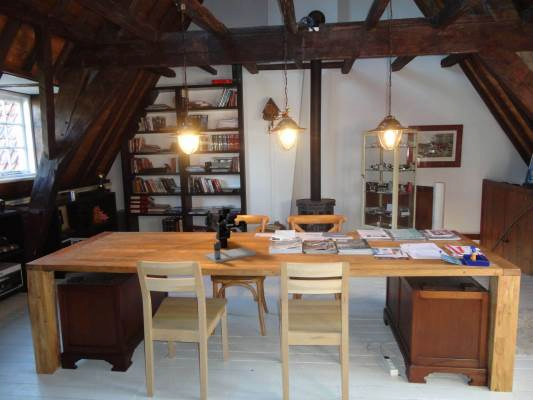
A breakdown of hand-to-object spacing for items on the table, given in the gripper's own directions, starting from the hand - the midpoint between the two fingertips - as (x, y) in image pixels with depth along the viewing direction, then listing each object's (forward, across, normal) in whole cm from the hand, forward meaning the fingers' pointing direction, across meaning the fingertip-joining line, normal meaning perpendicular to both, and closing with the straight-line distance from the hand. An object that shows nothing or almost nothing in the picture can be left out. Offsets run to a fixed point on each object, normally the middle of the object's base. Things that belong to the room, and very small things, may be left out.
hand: (237, 230), depth 245 cm
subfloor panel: (-1, -4, +17) cm, 17 cm away
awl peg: (+6, -15, +14) cm, 22 cm away
